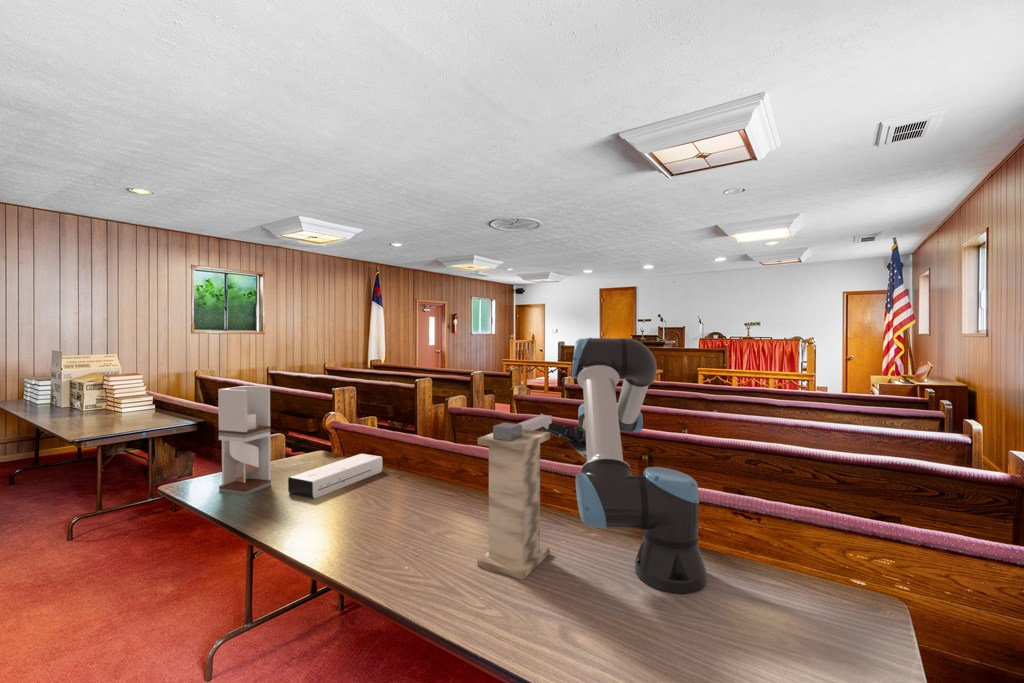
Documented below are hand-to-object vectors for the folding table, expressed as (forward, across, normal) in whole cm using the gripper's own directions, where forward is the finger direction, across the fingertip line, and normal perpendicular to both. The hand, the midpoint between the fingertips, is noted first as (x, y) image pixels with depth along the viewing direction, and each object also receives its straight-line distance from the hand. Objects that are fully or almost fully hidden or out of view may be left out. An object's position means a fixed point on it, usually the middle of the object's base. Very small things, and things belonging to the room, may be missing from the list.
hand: (561, 420), depth 136 cm
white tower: (+10, +106, -40) cm, 114 cm away
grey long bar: (+21, +1, -10) cm, 23 cm away
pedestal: (+12, 0, -39) cm, 41 cm away
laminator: (-8, +84, -30) cm, 90 cm away
